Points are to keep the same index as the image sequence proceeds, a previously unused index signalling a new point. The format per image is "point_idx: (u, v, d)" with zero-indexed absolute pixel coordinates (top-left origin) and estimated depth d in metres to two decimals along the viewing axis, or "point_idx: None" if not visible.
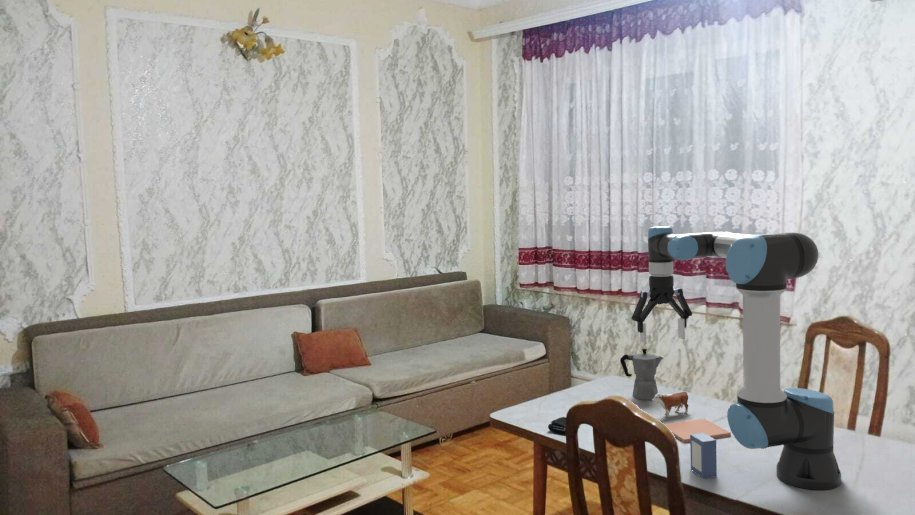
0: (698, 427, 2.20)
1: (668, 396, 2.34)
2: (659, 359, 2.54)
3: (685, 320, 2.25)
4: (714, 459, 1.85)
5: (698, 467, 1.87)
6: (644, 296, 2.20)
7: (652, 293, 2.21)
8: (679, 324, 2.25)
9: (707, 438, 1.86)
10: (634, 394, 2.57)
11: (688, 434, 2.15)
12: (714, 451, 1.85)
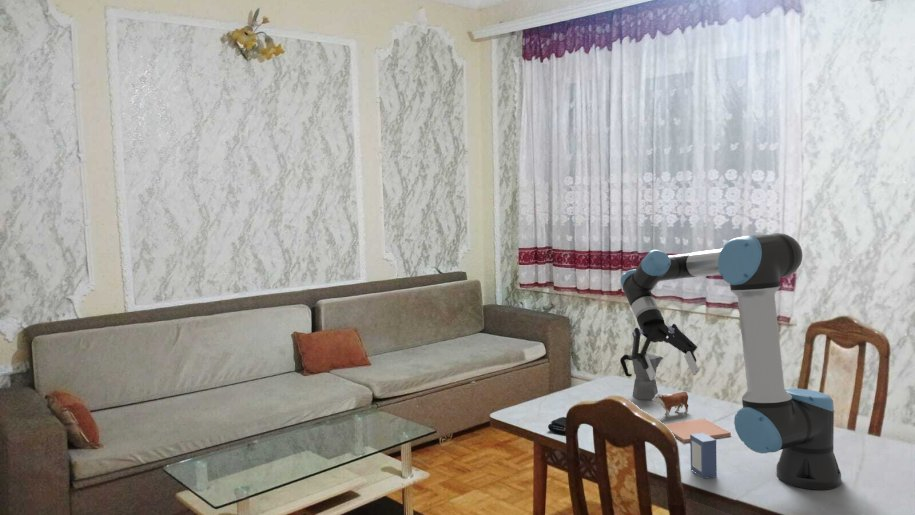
0: (698, 427, 2.20)
1: (668, 396, 2.34)
2: (659, 359, 2.54)
3: (692, 354, 2.04)
4: (714, 459, 1.85)
5: (698, 467, 1.87)
6: (636, 331, 2.06)
7: (644, 329, 2.08)
8: (688, 360, 2.04)
9: (707, 438, 1.86)
10: (634, 394, 2.57)
11: (688, 434, 2.15)
12: (714, 451, 1.85)
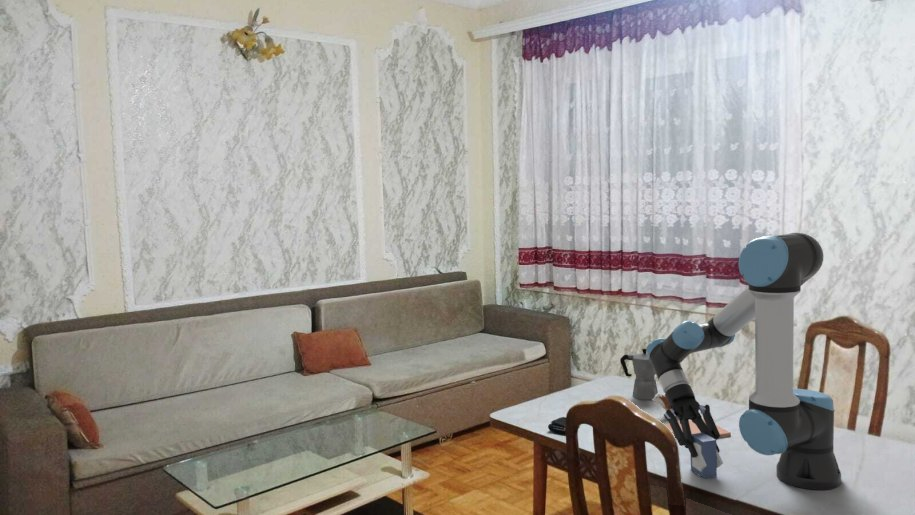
0: None
1: None
2: None
3: None
4: (714, 459, 1.85)
5: (698, 467, 1.87)
6: (670, 414, 1.92)
7: (674, 407, 1.94)
8: None
9: (707, 438, 1.86)
10: (634, 394, 2.57)
11: None
12: (714, 451, 1.85)
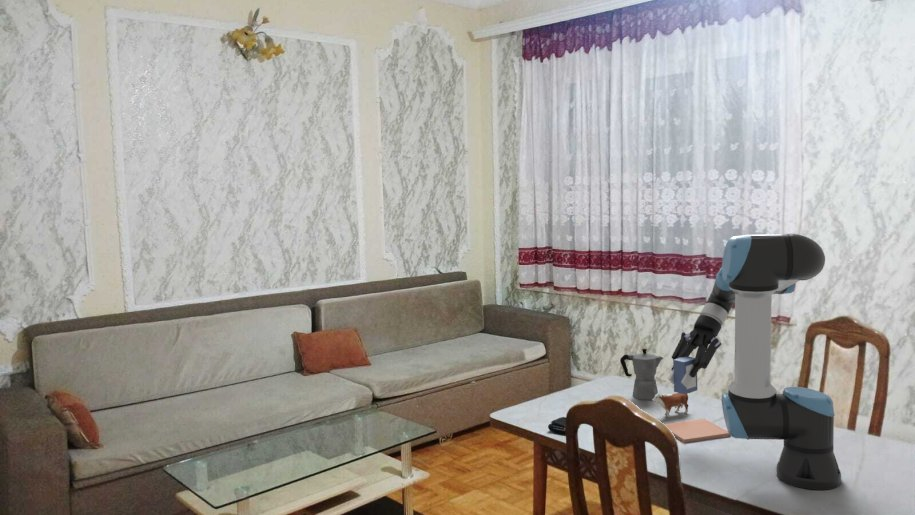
0: (698, 427, 2.20)
1: (668, 396, 2.34)
2: (659, 359, 2.54)
3: (694, 368, 2.10)
4: (682, 378, 2.10)
5: None
6: (681, 336, 2.20)
7: (690, 332, 2.19)
8: None
9: (683, 360, 2.11)
10: (634, 394, 2.57)
11: (688, 434, 2.15)
12: (682, 371, 2.10)
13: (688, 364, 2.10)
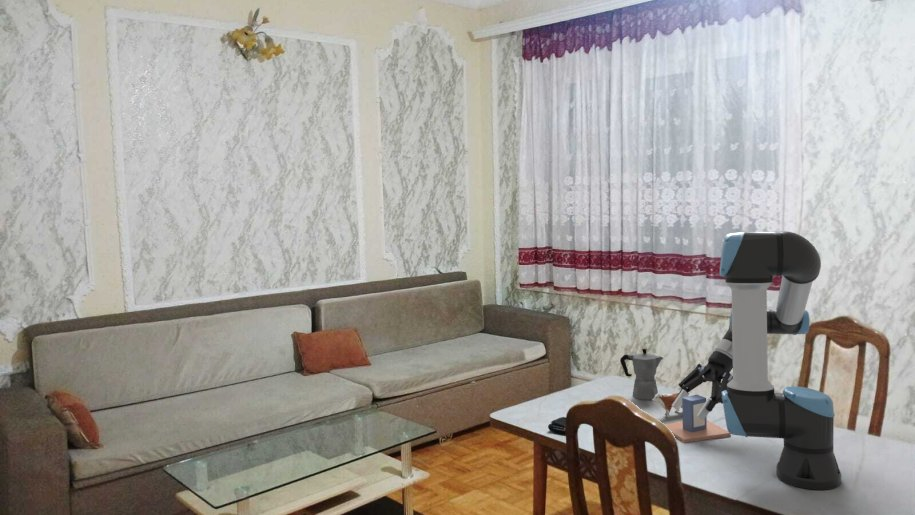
0: None
1: (668, 396, 2.34)
2: (659, 359, 2.54)
3: (711, 402, 2.12)
4: (690, 417, 2.16)
5: None
6: (696, 367, 2.26)
7: (704, 366, 2.24)
8: None
9: (692, 398, 2.17)
10: (634, 394, 2.57)
11: (688, 434, 2.15)
12: (690, 410, 2.16)
13: (696, 403, 2.16)
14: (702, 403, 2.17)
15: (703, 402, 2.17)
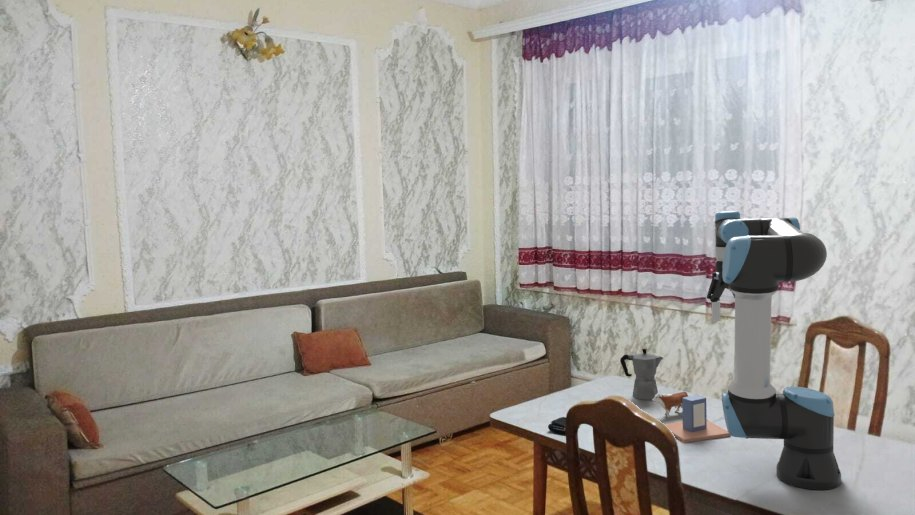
0: None
1: (668, 396, 2.34)
2: (659, 359, 2.54)
3: None
4: (690, 417, 2.16)
5: None
6: (712, 276, 2.29)
7: (718, 275, 2.26)
8: None
9: (692, 398, 2.17)
10: (634, 394, 2.57)
11: (688, 434, 2.15)
12: (690, 410, 2.16)
13: (696, 403, 2.16)
14: (702, 403, 2.17)
15: (703, 402, 2.17)
